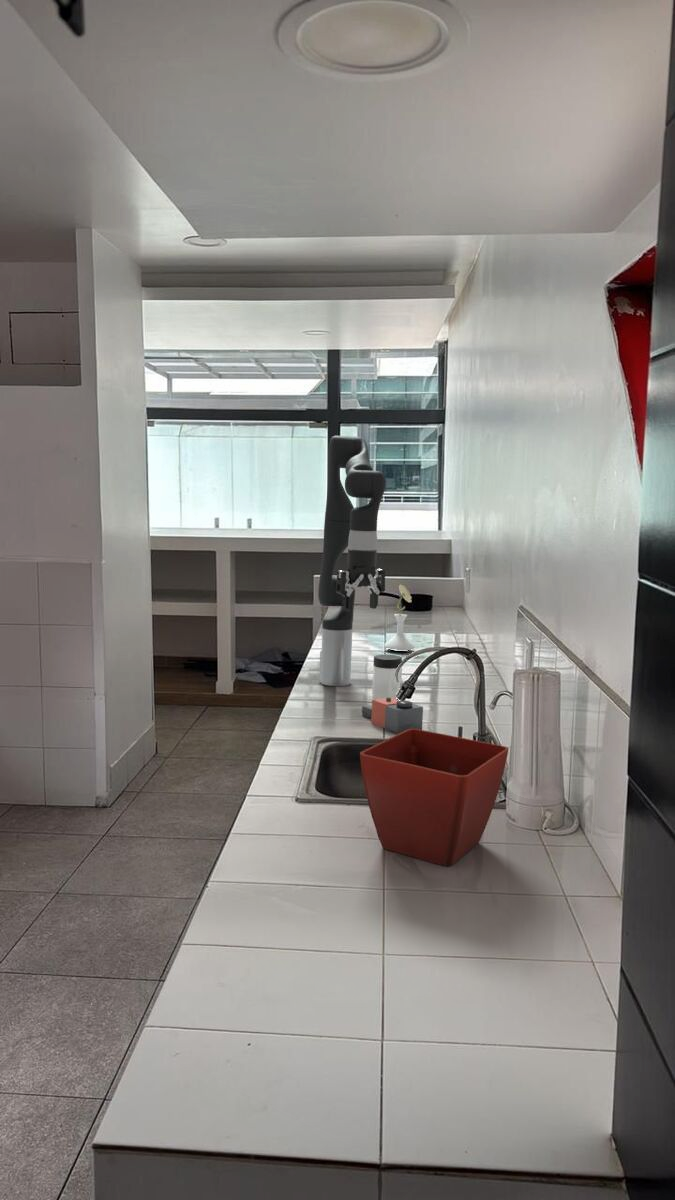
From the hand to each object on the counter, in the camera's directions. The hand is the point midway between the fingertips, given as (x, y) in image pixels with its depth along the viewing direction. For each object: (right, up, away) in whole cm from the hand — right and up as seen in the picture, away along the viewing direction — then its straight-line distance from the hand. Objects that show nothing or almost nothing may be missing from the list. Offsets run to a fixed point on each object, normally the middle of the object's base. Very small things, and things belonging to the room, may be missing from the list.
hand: (359, 609), depth 230 cm
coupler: (+7, -29, -5) cm, 30 cm away
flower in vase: (+17, -17, +99) cm, 101 cm away
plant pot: (+10, -39, -82) cm, 92 cm away
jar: (+8, -26, +23) cm, 36 cm away
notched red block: (+7, -29, -5) cm, 31 cm away
